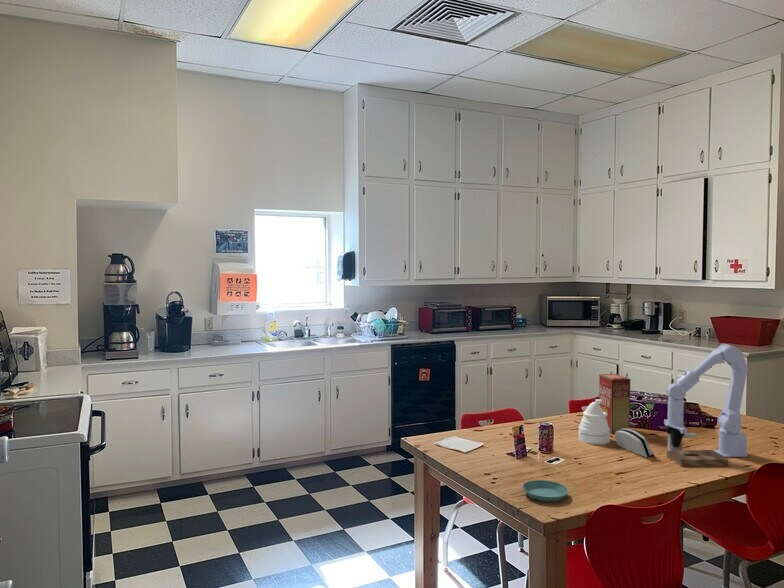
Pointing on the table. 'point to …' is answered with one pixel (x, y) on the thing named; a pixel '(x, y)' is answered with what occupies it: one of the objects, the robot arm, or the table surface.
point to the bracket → (672, 448)
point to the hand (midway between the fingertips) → (674, 446)
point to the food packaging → (615, 400)
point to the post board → (697, 458)
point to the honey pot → (594, 425)
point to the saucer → (545, 490)
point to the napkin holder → (633, 442)
